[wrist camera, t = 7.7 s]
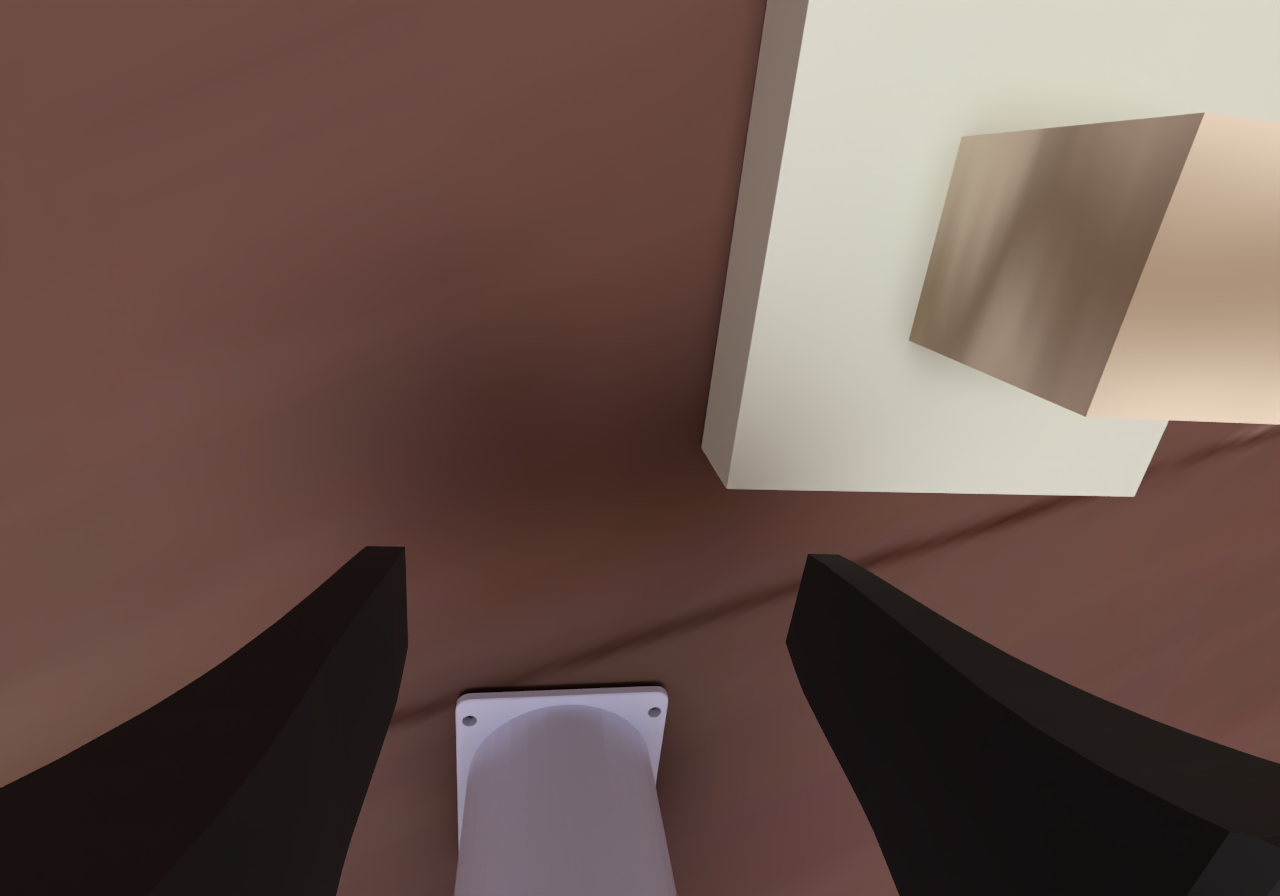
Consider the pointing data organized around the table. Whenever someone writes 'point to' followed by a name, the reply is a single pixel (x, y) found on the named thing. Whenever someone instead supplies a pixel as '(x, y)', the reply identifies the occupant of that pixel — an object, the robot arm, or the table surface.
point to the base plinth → (929, 230)
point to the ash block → (1116, 267)
